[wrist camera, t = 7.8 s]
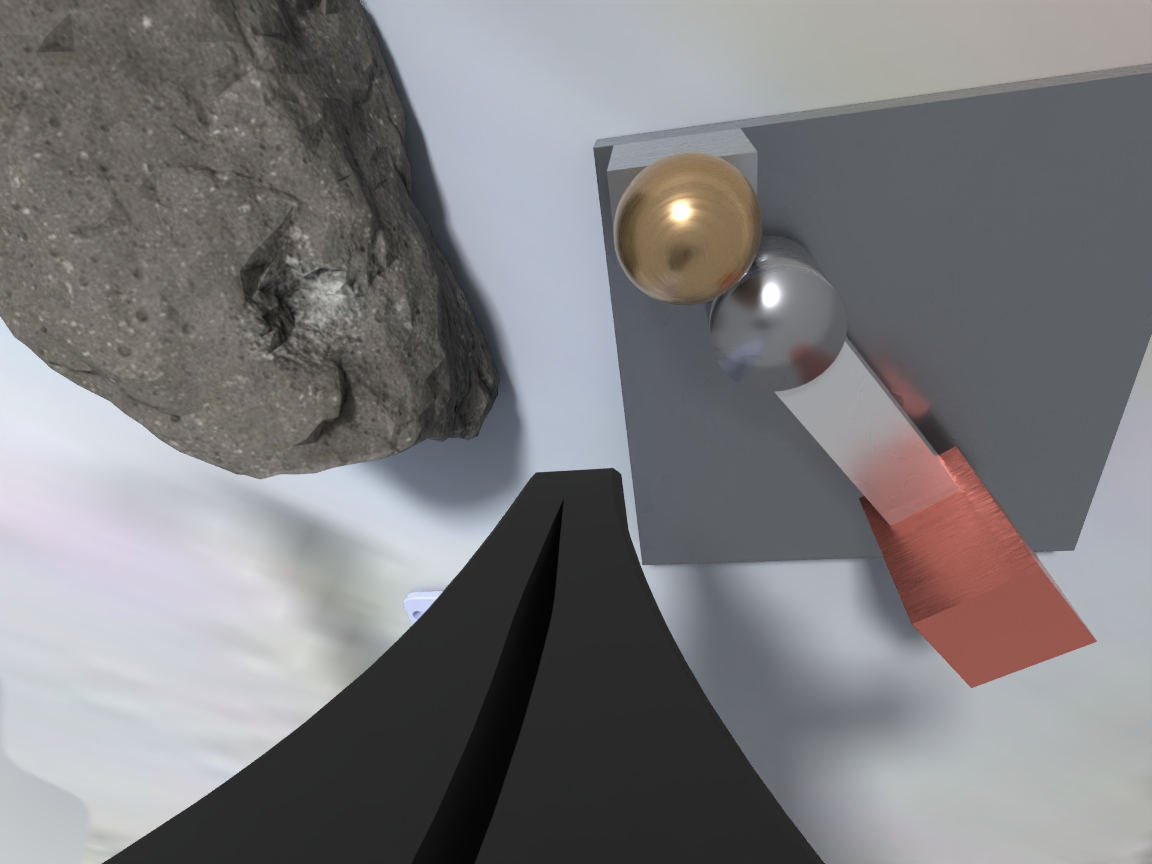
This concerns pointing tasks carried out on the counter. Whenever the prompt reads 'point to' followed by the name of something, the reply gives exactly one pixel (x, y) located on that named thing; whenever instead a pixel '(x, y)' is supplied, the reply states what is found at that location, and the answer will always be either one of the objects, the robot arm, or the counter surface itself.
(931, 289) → the base
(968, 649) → the lever
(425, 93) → the counter surface
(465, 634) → the robot arm
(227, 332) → the stone
